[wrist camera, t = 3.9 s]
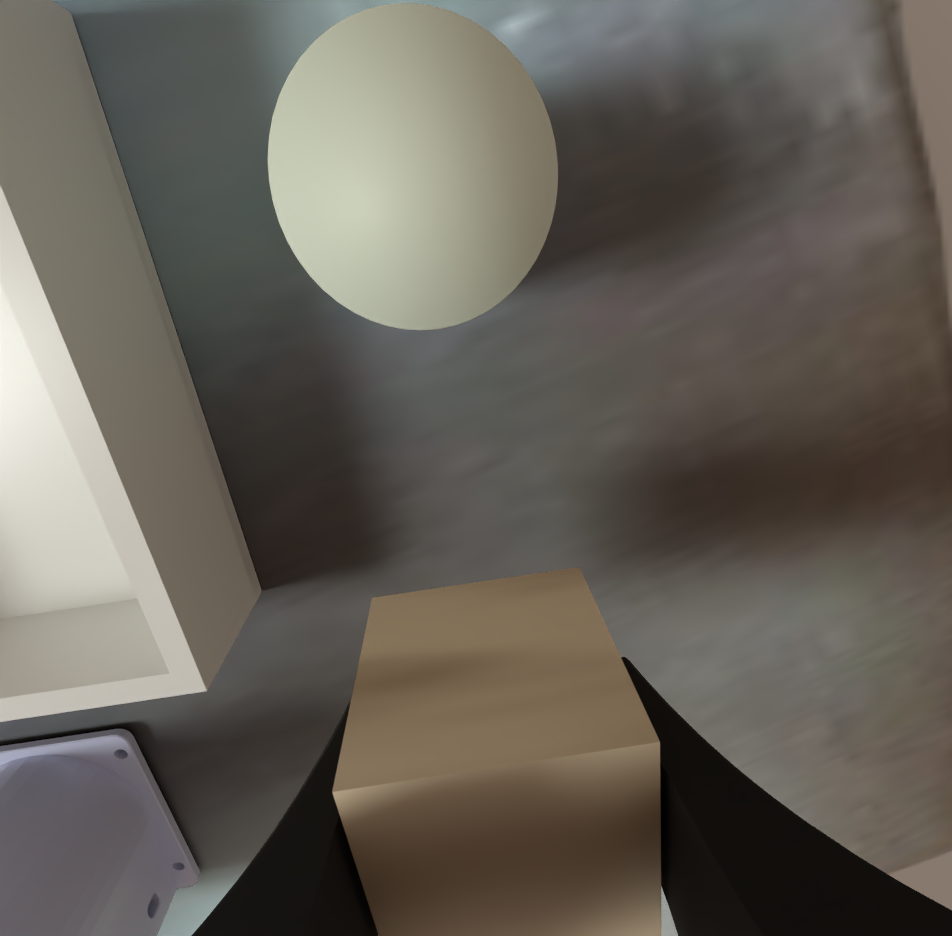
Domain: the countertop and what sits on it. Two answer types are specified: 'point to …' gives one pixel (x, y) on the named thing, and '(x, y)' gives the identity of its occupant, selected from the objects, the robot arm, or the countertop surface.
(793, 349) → the countertop surface
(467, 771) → the wooden cube
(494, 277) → the sage cylinder
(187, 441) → the box
